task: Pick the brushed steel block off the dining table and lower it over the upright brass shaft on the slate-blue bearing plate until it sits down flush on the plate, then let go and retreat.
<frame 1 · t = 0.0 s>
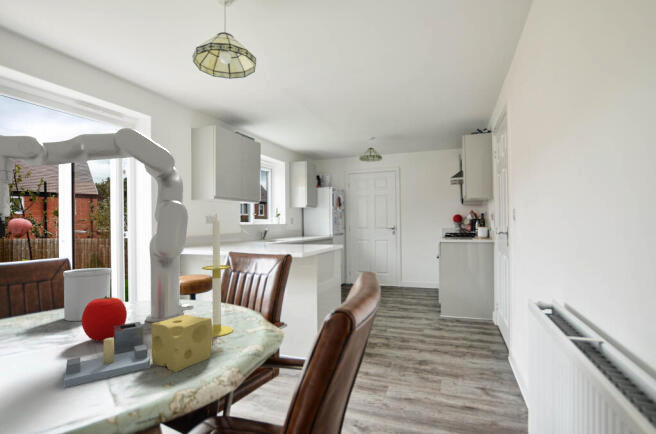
utensil holder: (87, 316, 127), on the table
brushed steel block: (128, 348, 92), on the table
cheese: (181, 361, 83), on the table
tomato: (104, 340, 100), on the table
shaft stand: (108, 369, 79), on the table
yellow disc stand: (217, 332, 105), on the table
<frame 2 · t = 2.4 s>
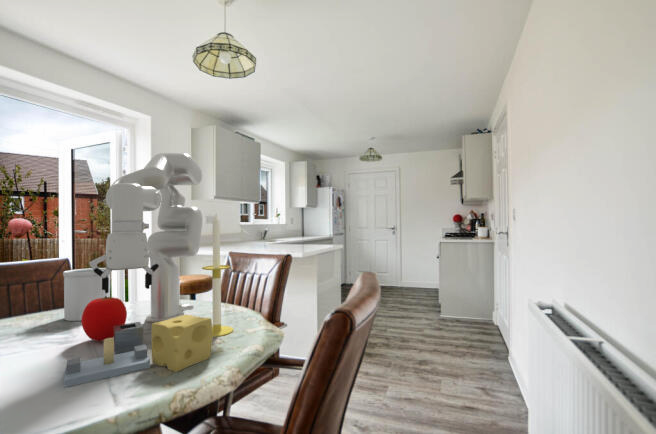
hand: (127, 290, 92), 16 cm above the table, tool pointing down, fingers open, 9 cm apart
nothing on the table moved.
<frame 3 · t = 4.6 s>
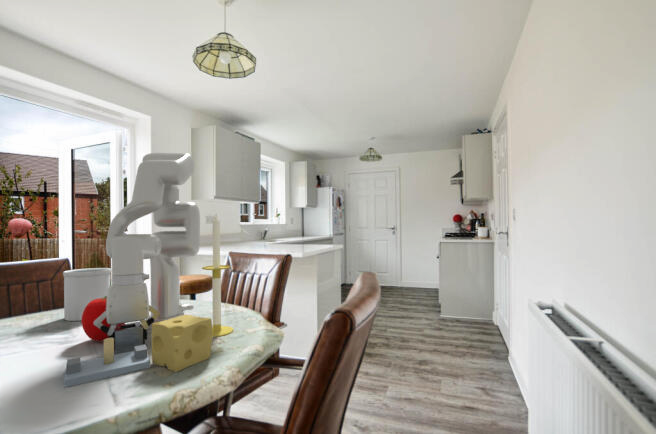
hand: (128, 345, 92), 1 cm above the table, tool pointing down, fingers closed on brushed steel block, 6 cm apart
brushed steel block: (128, 348, 92), on the table, touching gripper
everything else where it was.
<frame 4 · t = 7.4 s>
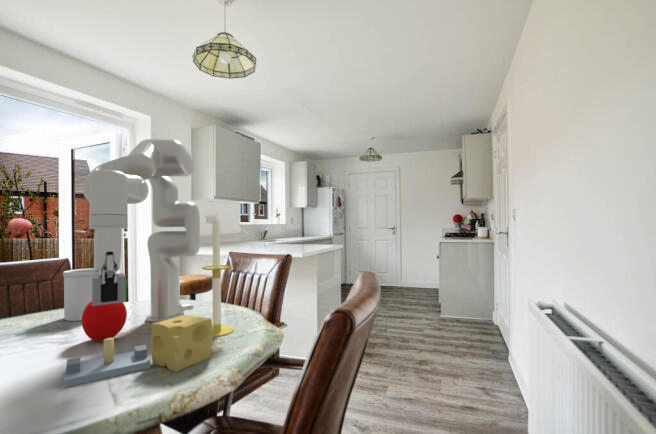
hand: (108, 298, 79), 17 cm above the table, tool pointing down, fingers closed on brushed steel block, 6 cm apart
brushed steel block: (108, 301, 79), point 16 cm above the table, touching gripper
everything else where it was.
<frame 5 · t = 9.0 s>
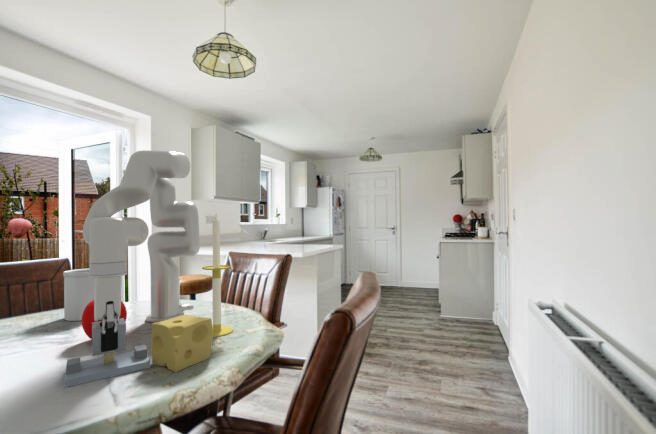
hand: (108, 345, 79), 6 cm above the table, tool pointing down, fingers closed on brushed steel block, 6 cm apart
brushed steel block: (108, 348, 79), point 5 cm above the table, touching gripper
everything else where it was.
when the fingers open (4 cm above the table, at t = 10.1 s): brushed steel block drops 2 cm, resting on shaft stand.
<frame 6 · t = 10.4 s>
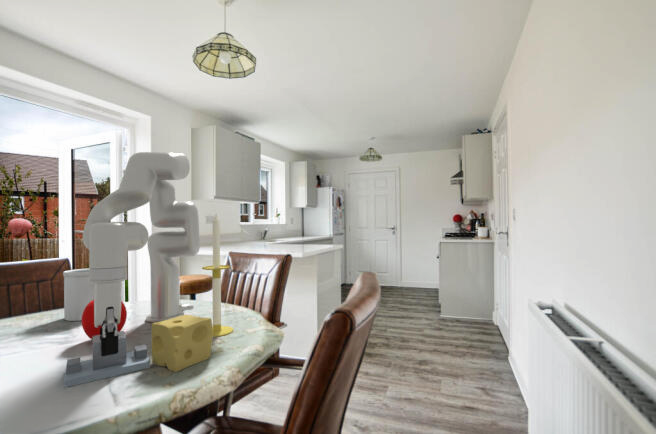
hand: (108, 348, 79), 5 cm above the table, tool pointing down, fingers open, 8 cm apart
brushed steel block: (109, 362, 79), point 1 cm above the table, touching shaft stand
everything else where it was.
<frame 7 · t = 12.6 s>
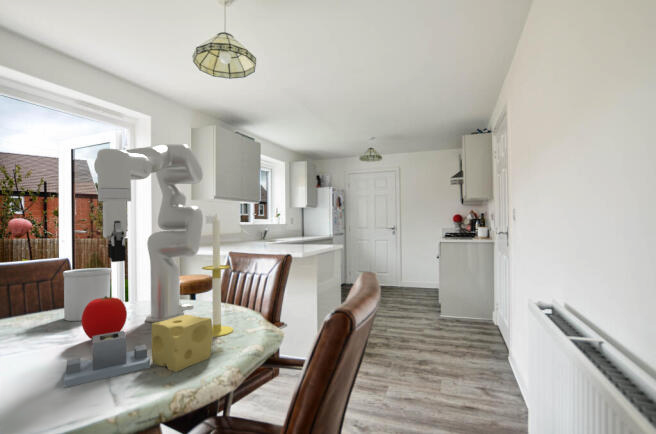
hand: (116, 259, 91), 25 cm above the table, tool pointing down, fingers open, 9 cm apart
nothing on the table moved.
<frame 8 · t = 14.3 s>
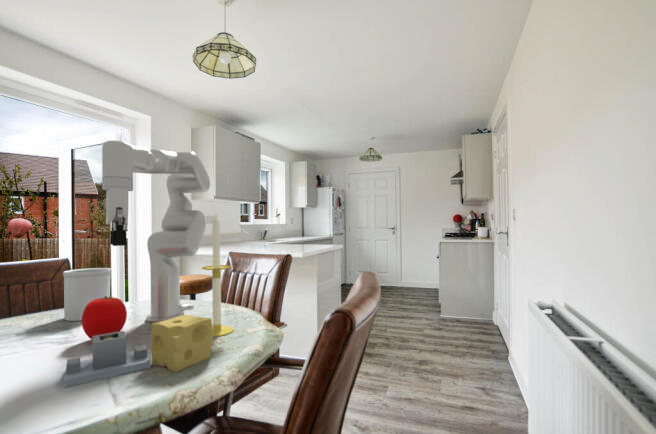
hand: (118, 244, 96), 28 cm above the table, tool pointing down, fingers open, 9 cm apart
nothing on the table moved.
at the end: brushed steel block 0.2 cm off-centre on the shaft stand, point 1.5 cm above the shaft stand's base; brushed steel block tilted 0°; the gripper is holding nothing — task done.
